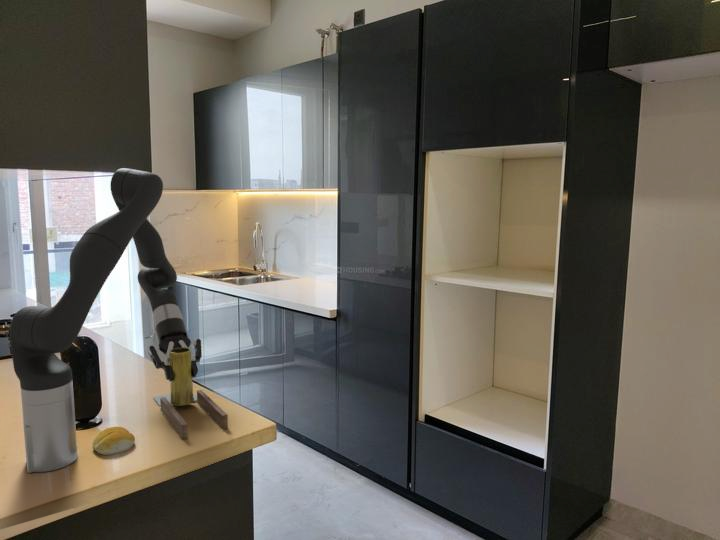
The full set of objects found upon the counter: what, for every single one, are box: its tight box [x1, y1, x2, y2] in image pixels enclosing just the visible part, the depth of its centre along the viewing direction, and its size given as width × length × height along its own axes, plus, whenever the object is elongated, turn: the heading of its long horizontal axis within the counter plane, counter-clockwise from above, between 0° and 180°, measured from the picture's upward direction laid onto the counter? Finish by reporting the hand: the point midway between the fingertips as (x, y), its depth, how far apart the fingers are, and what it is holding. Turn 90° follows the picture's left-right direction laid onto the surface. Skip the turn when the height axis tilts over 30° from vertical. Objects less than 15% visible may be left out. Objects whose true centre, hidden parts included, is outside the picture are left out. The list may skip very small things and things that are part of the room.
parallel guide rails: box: [160, 389, 229, 440], centre depth 131 cm, size 11×20×4 cm, turn 35°
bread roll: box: [92, 426, 136, 456], centre depth 116 cm, size 8×9×4 cm
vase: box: [169, 347, 194, 407], centre depth 138 cm, size 6×6×14 cm
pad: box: [152, 393, 197, 408], centre depth 143 cm, size 10×9×1 cm
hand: (183, 377), depth 136 cm, fingers closed on vase, 5 cm apart
